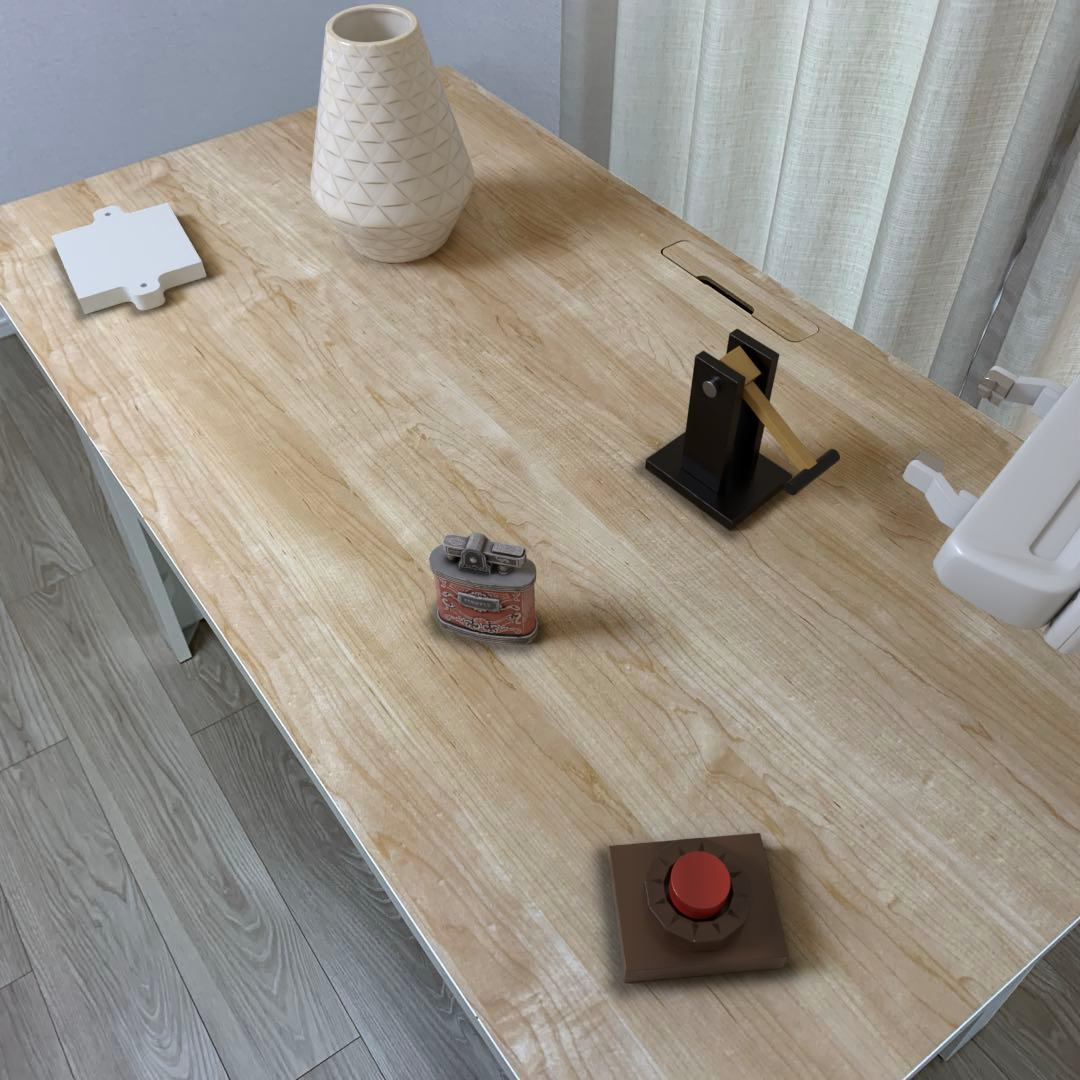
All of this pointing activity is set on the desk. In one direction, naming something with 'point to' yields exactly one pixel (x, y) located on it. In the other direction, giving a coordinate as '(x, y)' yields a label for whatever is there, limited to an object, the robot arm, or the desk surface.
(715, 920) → the button box
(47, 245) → the desk surface
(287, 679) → the desk surface
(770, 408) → the switch lever
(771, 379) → the switch bracket
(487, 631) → the lighter
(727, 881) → the light button
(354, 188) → the vase
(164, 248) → the mounting plate
